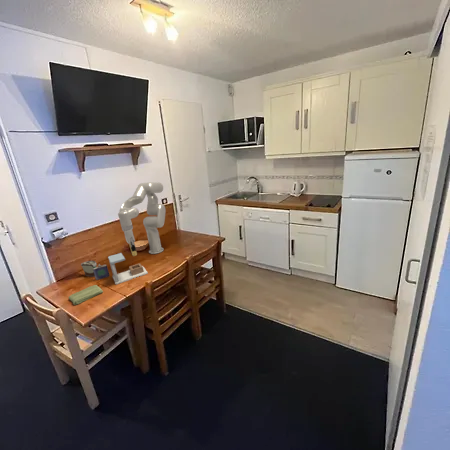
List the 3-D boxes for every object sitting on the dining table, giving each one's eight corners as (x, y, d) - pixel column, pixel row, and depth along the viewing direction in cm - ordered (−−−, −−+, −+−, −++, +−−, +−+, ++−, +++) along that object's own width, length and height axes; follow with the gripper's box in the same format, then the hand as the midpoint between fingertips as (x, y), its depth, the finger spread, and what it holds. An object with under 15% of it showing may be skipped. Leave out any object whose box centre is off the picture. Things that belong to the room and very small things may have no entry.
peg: (131, 254, 190) (127, 240, 186) (136, 253, 192) (132, 239, 188) (132, 256, 187) (128, 241, 183) (137, 254, 189) (133, 240, 185)
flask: (96, 280, 178) (92, 267, 175) (95, 279, 180) (91, 265, 177) (109, 276, 182) (106, 263, 179) (109, 274, 184) (105, 261, 181)
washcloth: (104, 292, 161) (103, 288, 160) (75, 306, 149) (73, 302, 148) (96, 286, 170) (95, 282, 169) (68, 299, 158) (66, 295, 157)
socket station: (112, 276, 181) (107, 256, 176) (142, 266, 191) (138, 247, 186) (115, 284, 169) (110, 263, 164) (147, 273, 180) (143, 253, 175)
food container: (103, 272, 189) (99, 260, 186) (96, 276, 184) (93, 264, 181) (90, 271, 193) (87, 259, 190) (84, 275, 188) (80, 263, 185)
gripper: (119, 226, 187) (125, 248, 193) (124, 231, 174) (130, 255, 180) (130, 223, 191) (135, 245, 197) (135, 228, 177) (141, 251, 183)
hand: (133, 249), depth 188 cm, fingers closed on peg, 3 cm apart
